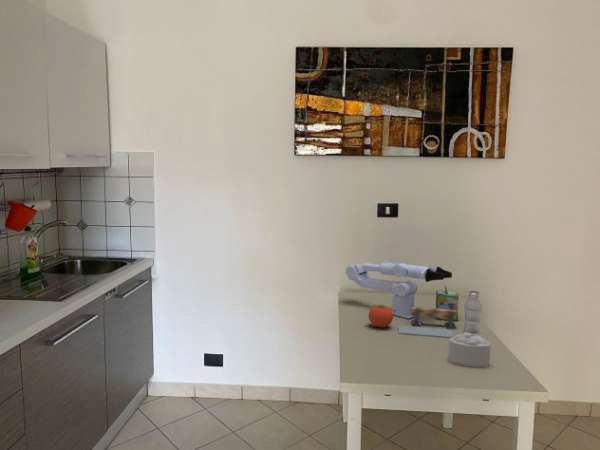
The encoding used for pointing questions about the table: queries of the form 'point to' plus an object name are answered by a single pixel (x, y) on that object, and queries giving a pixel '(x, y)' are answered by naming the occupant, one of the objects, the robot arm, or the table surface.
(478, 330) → the plastic bottle
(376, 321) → the tomato
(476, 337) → the lumpy-topped squat cylinder
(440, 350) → the table surface
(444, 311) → the wavy strip
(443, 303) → the chalk box
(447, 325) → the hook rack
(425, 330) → the mat
